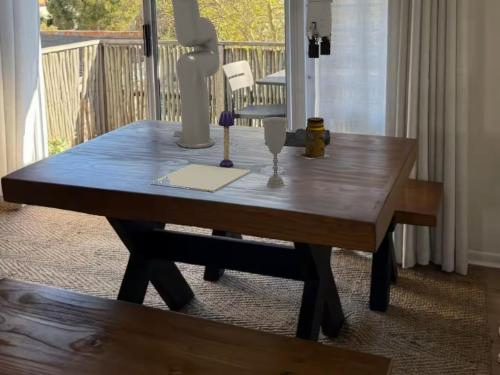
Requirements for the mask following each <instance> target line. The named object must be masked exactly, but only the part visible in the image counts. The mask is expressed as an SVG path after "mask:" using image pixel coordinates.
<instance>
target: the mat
mask: <svg viewBox="0 0 500 375" xmlns="http://www.w3.org/2000/svg"><path fill="white" fill-rule="evenodd" d="M251 173H252V171H251V170H249V169H241V168H233V167H221V166H213V165H205V164H195V163H191V164H188V165H186V166H184V167H181V168H179V169H177V170H175V171H173V172H170V173H168V174H166V175H164V176H162V177H159V178H157V179H155V181H156V180H158V182H159V181H160V183H161V184H162V181H161V180H163V178H164V179H165V178H166V176H167V177H168V179H169V181H170V185H174V186H180V187H185V188H189V189H195V190H194V191H197V190H201V191H200V192H205V191H210V192H209V193H212V192H214V191H216V190H218V189H219V190H221V189H223V188H225V187H227V186H229V185H230V184H232V183H234V182H236V181H238V180H240V179H241V178H244V177H246V176H247V175H249V174H251ZM153 183H154V180H153ZM160 183H159V184H160ZM222 187H223V188H222ZM189 189H188V190H189ZM219 190H218V191H219ZM216 192H217V191H216ZM214 193H215V192H214Z"/></svg>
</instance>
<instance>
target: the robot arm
mask: <svg viewBox="0 0 500 375" xmlns="http://www.w3.org/2000/svg"><path fill="white" fill-rule="evenodd" d="M171 3H172V12H173V19H174V20H173V21H174V29H175V36H176V39H177V42H178V43H179V45H180V46H182V47H184V48H193V51H192V50H191V51H188V52H185V53H183V54H182V55H181V56H179V58H178V59H177V61H176V74H177V79H178V84H179V96H180V111H181V112H180V114H181V130H175V131H174V132H173V135H172V136H173V137H174V138H179V140H178V141H177V144H179V145H180V146H179V145H178V146H179V147H181V146H183V147H182V148H185V147H188V148H187V149H199V148H201V149H202V148H208V147H212V146H214V145H215V139H213V138H211V132H210V130H211V128H210V126H211V125H210V103H209V102H210V100H209V99H210V98H209V89H208V85H207V82H206V79H207V78H210V77H213V76H215V75H216V74H217V73H218V71H219V68H220V64H221V60H220V53H219V52H220V51H219V43H218V35H217V30H216V27H215V24H214V23H213V22H212V20H210V19H209V18H207V17H203V16H201V15H200V7H199V6H200V5H199V2H198V0H171ZM333 3H334V0H307V11H306V23H305V25H306V26H305V36H306V37H307V40H308V41H307V45H308V56H307V57H308V58H309V59H319V58H320V56H331V47H332V46H331V41H332V38H331V36H332V28H333V27H332V25H333V21H332V19H333V18H332V4H333Z"/></svg>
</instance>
